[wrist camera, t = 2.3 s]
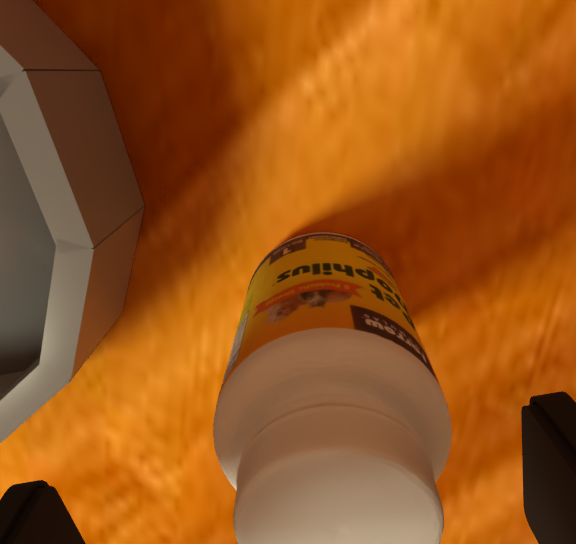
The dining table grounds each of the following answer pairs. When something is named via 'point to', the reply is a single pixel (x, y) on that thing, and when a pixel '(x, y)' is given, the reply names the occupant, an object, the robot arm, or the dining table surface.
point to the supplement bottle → (331, 404)
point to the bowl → (57, 211)
